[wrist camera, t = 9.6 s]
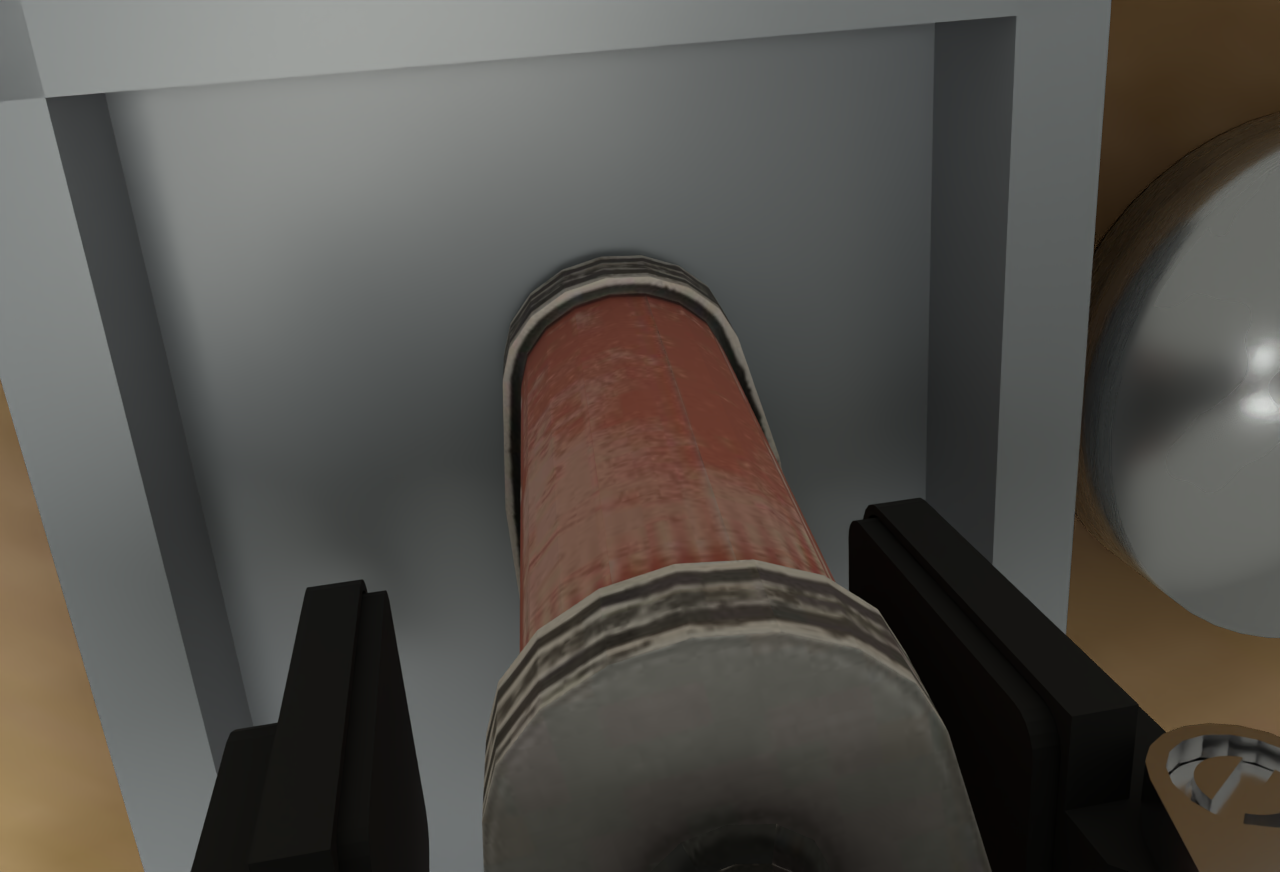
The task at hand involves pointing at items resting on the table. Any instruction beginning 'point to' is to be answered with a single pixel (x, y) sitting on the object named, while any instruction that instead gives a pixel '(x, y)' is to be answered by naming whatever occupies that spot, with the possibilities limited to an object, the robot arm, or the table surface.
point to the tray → (503, 309)
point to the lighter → (688, 620)
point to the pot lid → (1191, 383)
